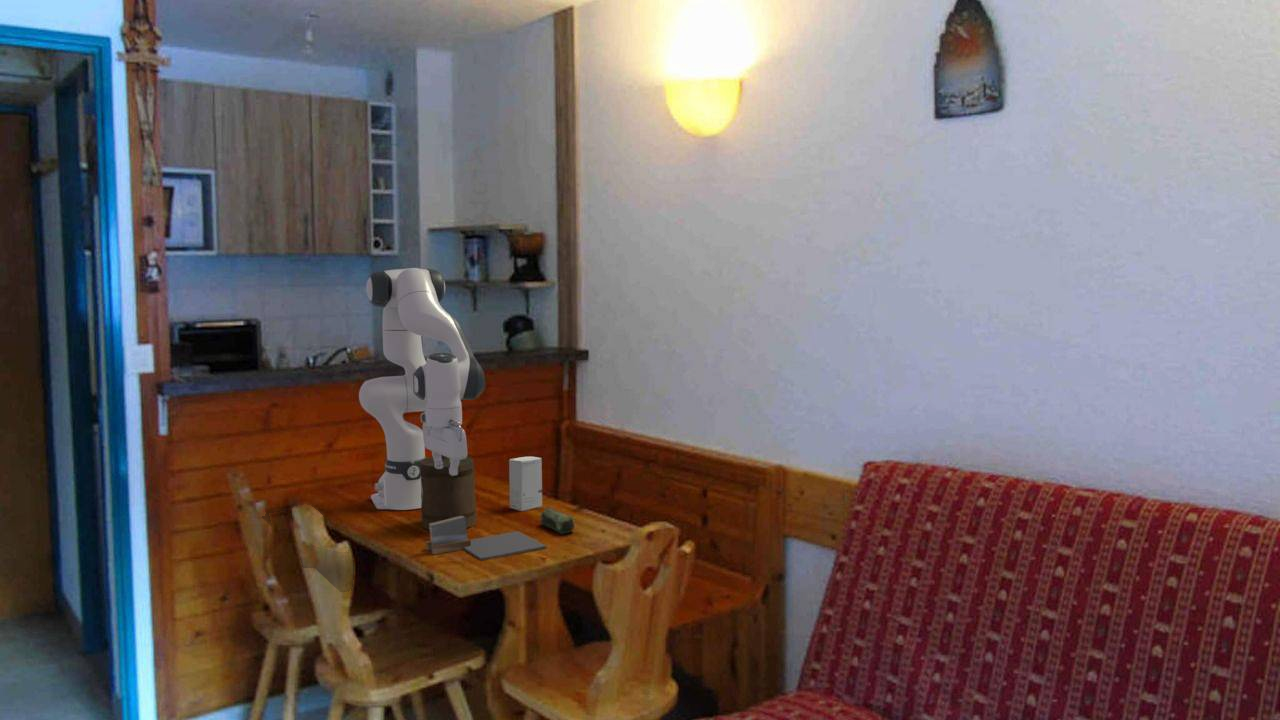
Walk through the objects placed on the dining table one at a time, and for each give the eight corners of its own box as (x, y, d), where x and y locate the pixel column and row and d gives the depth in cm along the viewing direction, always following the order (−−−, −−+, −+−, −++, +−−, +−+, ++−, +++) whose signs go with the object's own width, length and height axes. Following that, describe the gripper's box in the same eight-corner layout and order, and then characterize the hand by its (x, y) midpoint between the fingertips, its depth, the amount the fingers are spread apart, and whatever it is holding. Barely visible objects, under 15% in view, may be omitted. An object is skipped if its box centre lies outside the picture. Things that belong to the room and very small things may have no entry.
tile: (432, 550, 255) (428, 523, 254) (464, 541, 260) (461, 515, 259) (434, 552, 254) (431, 525, 252) (467, 543, 258) (464, 517, 257)
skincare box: (521, 511, 291) (520, 461, 290) (508, 508, 295) (507, 458, 294) (543, 506, 297) (542, 457, 296) (530, 502, 301) (529, 454, 300)
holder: (425, 549, 256) (425, 541, 256) (461, 542, 262) (461, 535, 261) (433, 554, 251) (433, 546, 251) (470, 547, 257) (470, 540, 257)
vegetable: (578, 533, 270) (577, 515, 269) (561, 537, 267) (561, 518, 266) (552, 522, 281) (552, 504, 280) (536, 525, 278) (536, 507, 278)
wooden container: (444, 514, 289) (442, 439, 286) (486, 521, 282) (484, 444, 279) (410, 527, 276) (408, 449, 273) (453, 534, 269) (451, 454, 266)
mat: (455, 544, 260) (455, 542, 260) (518, 533, 270) (518, 531, 270) (481, 560, 247) (481, 558, 246) (546, 548, 256) (546, 545, 256)
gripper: (472, 422, 246) (474, 477, 247) (440, 411, 263) (442, 463, 264) (448, 424, 242) (450, 480, 244) (417, 414, 259) (419, 466, 261)
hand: (446, 471), depth 254 cm, fingers open, 8 cm apart
